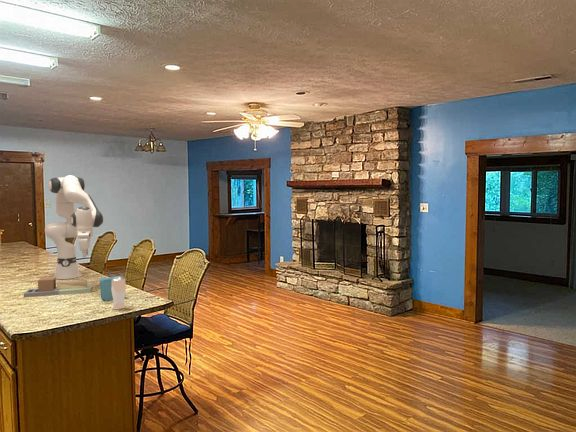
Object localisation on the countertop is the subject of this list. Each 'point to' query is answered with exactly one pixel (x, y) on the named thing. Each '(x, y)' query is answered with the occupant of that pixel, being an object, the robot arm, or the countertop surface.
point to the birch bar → (71, 284)
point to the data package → (107, 288)
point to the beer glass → (118, 292)
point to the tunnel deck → (53, 288)
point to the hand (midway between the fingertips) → (85, 256)
